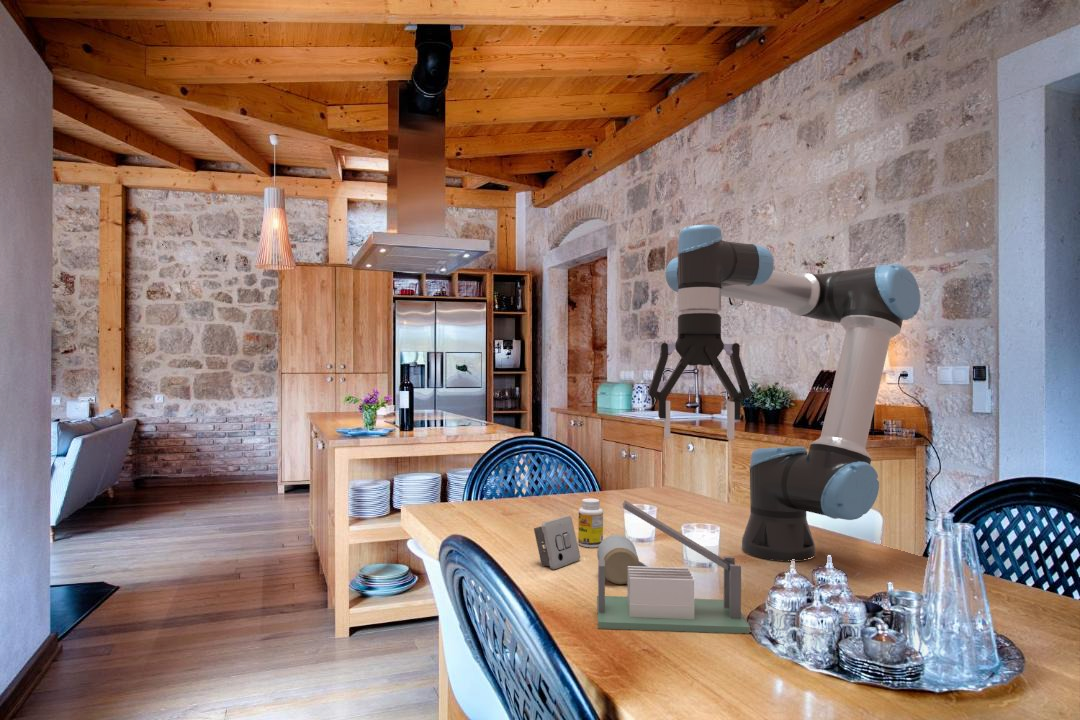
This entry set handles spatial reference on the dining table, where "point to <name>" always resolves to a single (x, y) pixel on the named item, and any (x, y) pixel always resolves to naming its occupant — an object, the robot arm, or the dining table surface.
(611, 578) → the ceramic mug
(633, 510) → the grey retaining bar
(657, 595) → the base
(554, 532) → the electrical switch
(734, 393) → the robot arm
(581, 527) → the supplement bottle
